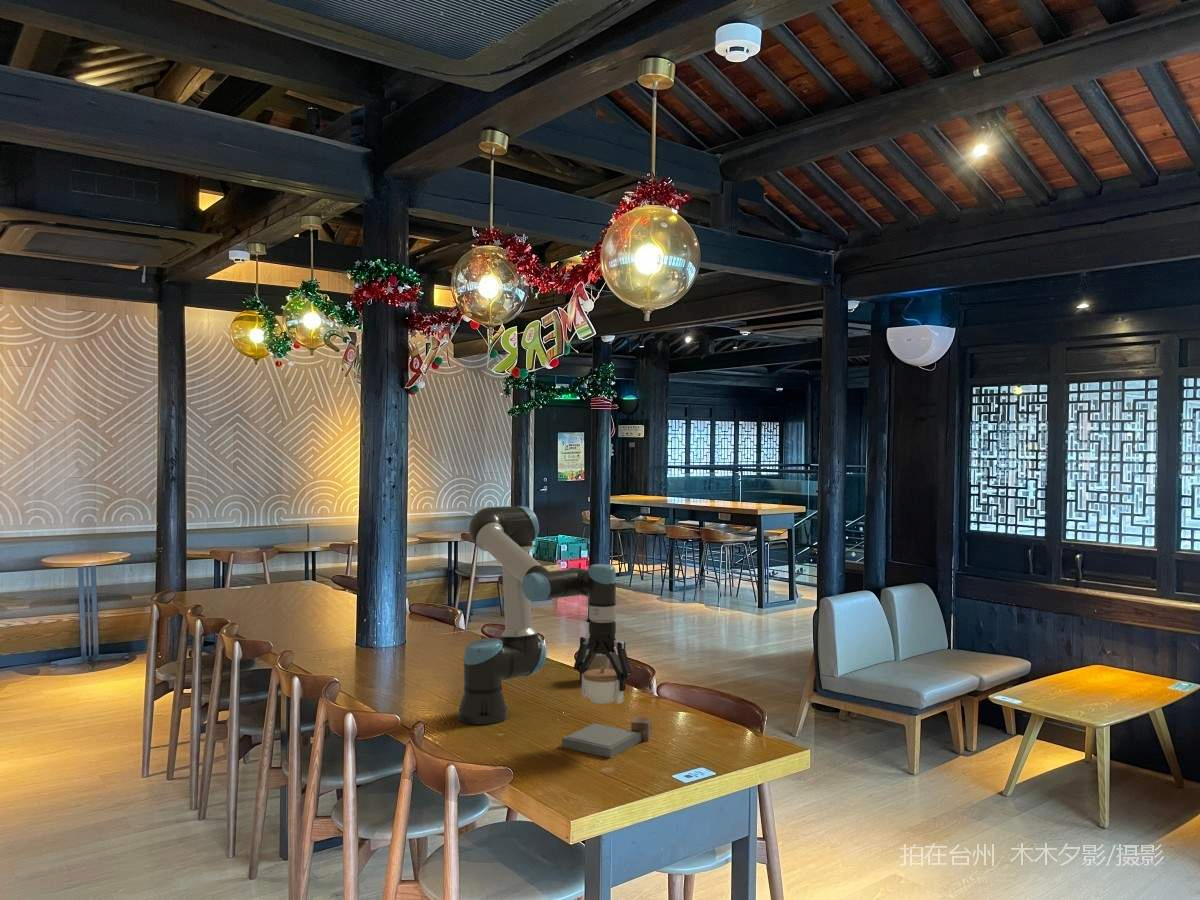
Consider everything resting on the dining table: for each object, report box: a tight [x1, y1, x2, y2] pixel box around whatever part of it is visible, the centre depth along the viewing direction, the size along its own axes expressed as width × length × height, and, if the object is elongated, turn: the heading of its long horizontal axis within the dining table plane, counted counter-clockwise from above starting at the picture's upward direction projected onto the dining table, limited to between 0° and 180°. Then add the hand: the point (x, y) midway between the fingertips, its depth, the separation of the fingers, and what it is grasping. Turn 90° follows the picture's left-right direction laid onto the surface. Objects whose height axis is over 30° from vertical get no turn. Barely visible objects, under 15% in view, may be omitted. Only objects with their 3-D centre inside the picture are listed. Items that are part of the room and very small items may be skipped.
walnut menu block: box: [630, 716, 653, 742], centre depth 241 cm, size 5×5×5 cm
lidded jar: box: [583, 667, 618, 705], centre depth 235 cm, size 11×11×9 cm
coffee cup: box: [584, 643, 611, 670], centre depth 303 cm, size 11×11×15 cm
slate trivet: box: [561, 722, 642, 759], centre depth 235 cm, size 16×16×3 cm
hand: (602, 699), depth 235 cm, fingers closed on lidded jar, 11 cm apart
